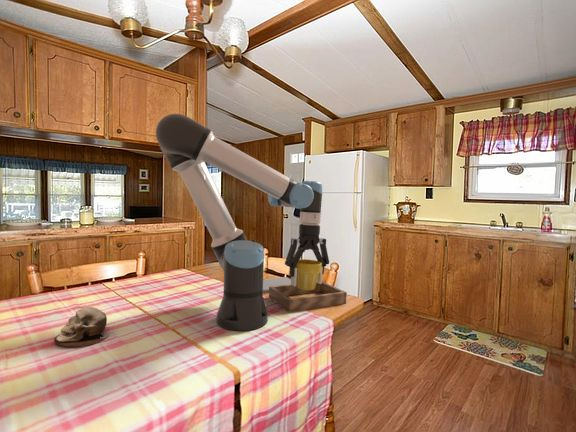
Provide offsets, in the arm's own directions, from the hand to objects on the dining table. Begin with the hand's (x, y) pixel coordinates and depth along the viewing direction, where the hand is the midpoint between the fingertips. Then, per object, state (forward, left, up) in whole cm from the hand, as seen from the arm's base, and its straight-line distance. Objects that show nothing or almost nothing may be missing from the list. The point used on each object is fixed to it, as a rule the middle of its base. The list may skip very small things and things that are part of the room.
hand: (306, 284), depth 114 cm
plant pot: (0, 0, -2) cm, 2 cm away
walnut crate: (0, 0, -6) cm, 6 cm away
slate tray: (-3, +21, -6) cm, 22 cm away
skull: (-68, -4, -6) cm, 69 cm away
